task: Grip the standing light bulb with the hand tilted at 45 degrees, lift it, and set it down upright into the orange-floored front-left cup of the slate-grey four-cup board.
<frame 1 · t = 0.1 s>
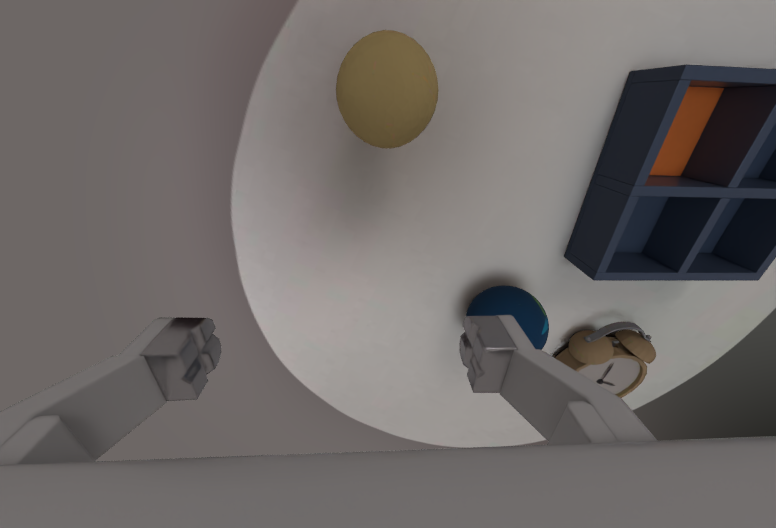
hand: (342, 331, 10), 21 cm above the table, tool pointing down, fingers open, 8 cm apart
cup board: (675, 179, 30), on the table
alarm clock: (589, 352, 42), on the table
light bulb: (382, 96, 25), on the table
christmas ornament: (490, 300, 36), on the table
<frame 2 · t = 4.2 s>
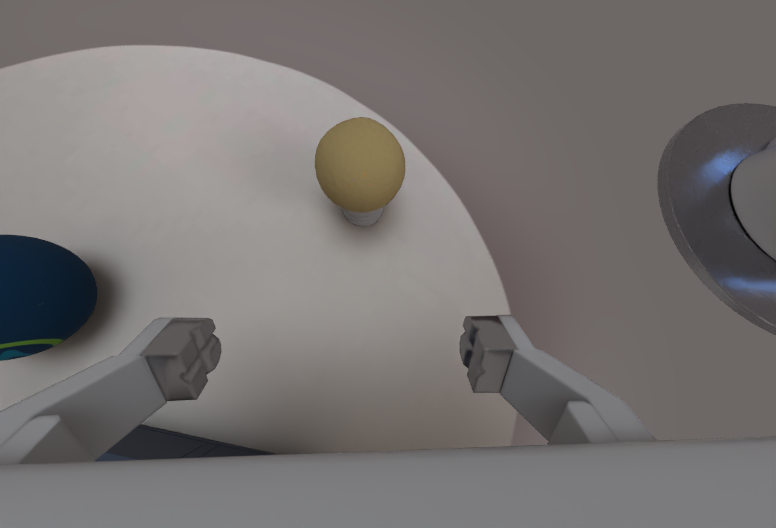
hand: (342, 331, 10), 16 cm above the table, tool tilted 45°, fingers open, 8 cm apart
light bulb: (363, 211, 28), on the table
christmas ornament: (73, 305, 24), on the table
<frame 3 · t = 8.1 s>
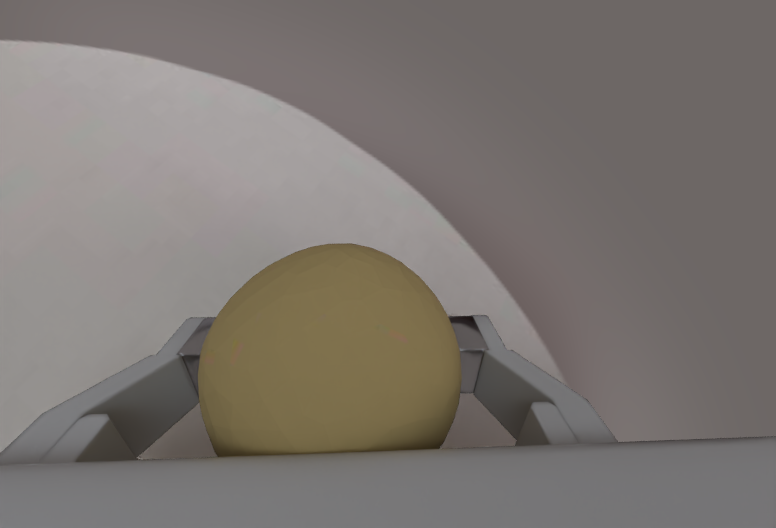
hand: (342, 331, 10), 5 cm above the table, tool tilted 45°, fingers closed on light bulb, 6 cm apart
light bulb: (355, 357, 15), on the table, touching gripper
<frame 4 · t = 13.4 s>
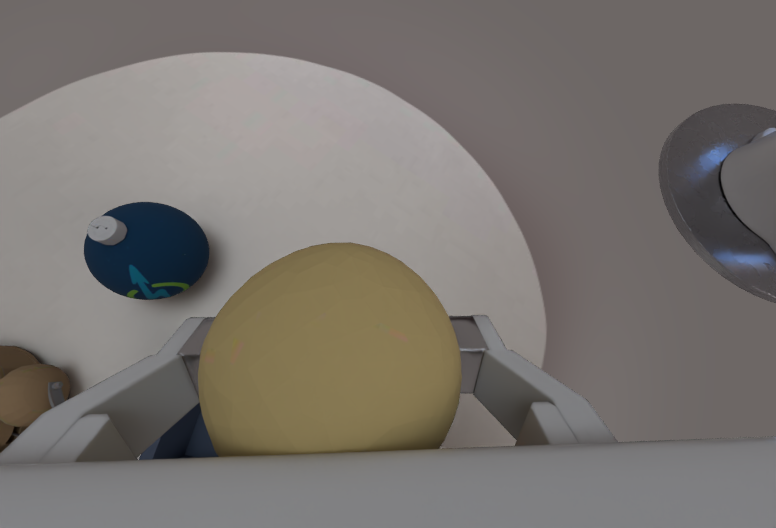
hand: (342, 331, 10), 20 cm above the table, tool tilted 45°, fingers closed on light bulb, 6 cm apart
cup board: (277, 478, 25), on the table
alarm clock: (7, 416, 25), on the table
light bulb: (355, 357, 15), point 14 cm above the table, touching gripper
christmas ornament: (183, 265, 30), on the table
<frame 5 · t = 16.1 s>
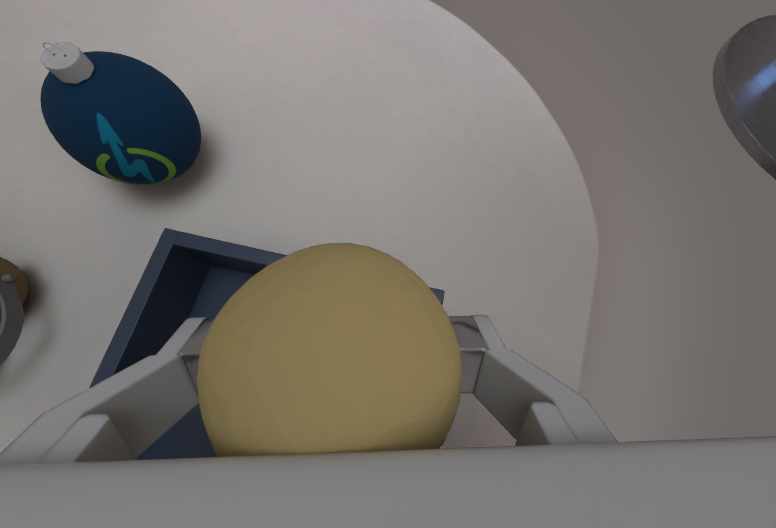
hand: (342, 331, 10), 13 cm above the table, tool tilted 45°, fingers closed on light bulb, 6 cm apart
cup board: (283, 399, 21), on the table
light bulb: (355, 357, 15), point 7 cm above the table, touching gripper
christmas ornament: (170, 161, 25), on the table
when the fingers open (6 cm above the table, at t = 18.5 s): light bulb stays where it is, resting on cup board.
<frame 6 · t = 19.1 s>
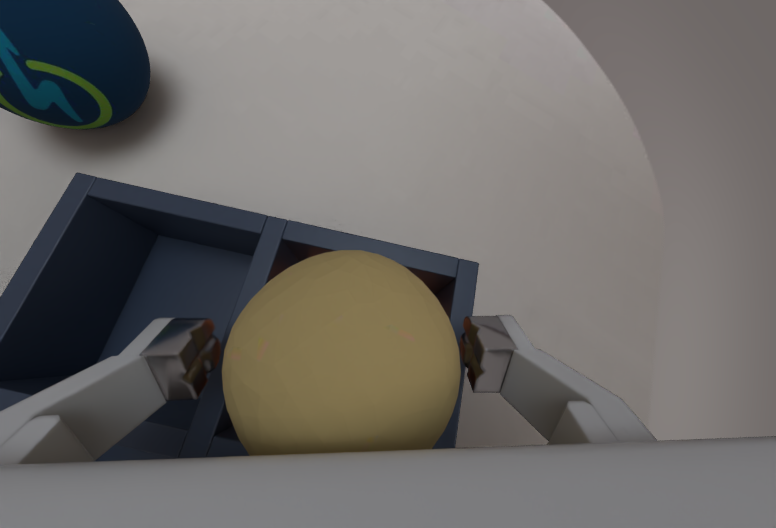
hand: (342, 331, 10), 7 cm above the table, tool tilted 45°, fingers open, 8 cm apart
cup board: (251, 416, 15), on the table
light bulb: (356, 355, 16), point 1 cm above the table, touching cup board
christmas ornament: (116, 107, 20), on the table
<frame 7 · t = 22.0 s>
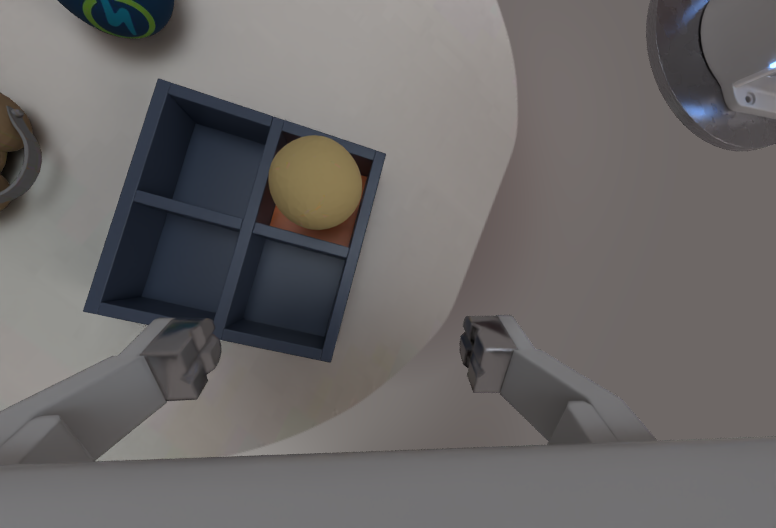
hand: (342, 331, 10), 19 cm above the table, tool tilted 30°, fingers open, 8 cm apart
cup board: (263, 233, 28), on the table
light bulb: (322, 205, 28), point 1 cm above the table, touching cup board
christmas ornament: (143, 17, 27), on the table
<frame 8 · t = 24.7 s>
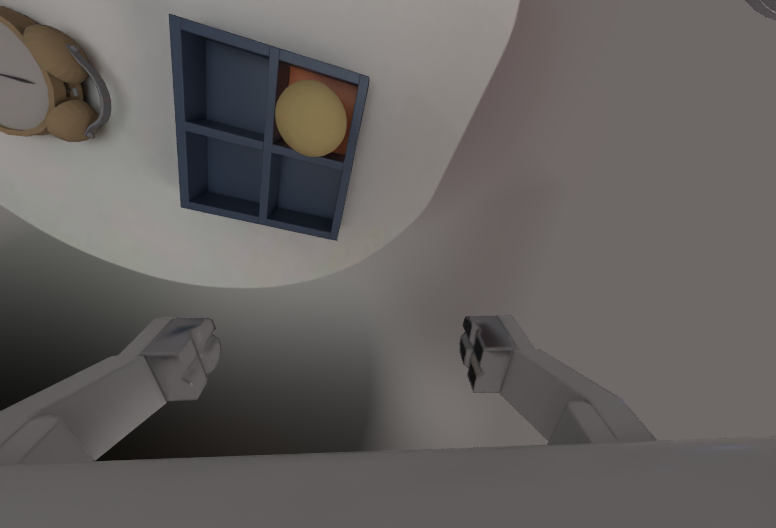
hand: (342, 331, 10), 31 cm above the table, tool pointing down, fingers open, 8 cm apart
cup board: (280, 141, 35), on the table
alarm clock: (49, 80, 31), on the table
light bulb: (322, 116, 34), point 1 cm above the table, touching cup board
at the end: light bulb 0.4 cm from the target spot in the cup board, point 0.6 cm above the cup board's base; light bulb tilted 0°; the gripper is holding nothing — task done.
